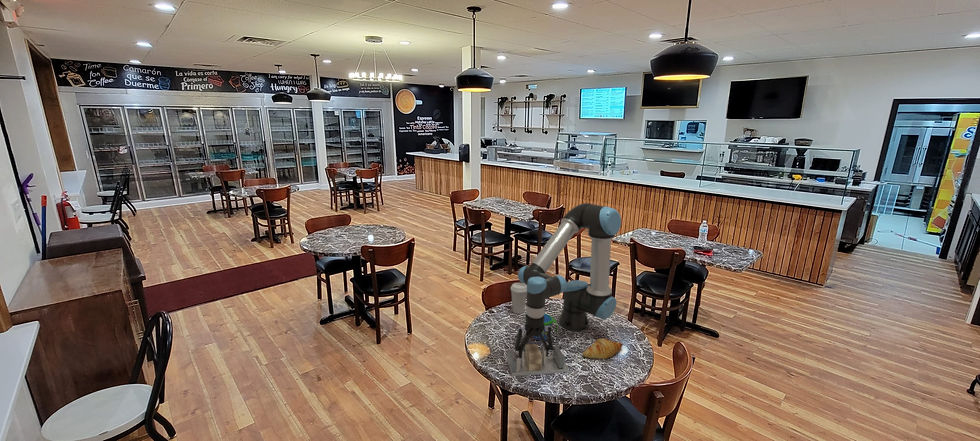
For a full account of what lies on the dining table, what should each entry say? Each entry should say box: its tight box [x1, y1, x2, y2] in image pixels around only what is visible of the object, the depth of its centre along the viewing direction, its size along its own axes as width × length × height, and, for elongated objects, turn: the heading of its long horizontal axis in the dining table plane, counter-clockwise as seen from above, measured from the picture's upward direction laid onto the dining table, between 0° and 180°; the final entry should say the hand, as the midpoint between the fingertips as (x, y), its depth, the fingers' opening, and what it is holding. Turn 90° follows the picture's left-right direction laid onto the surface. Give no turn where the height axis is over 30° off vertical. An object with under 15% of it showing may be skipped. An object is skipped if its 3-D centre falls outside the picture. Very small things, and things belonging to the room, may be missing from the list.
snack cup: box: [524, 313, 559, 341], centre depth 195 cm, size 16×10×10 cm
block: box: [524, 343, 542, 370], centre depth 170 cm, size 5×8×7 cm, turn 8°
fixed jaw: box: [507, 348, 517, 373], centre depth 169 cm, size 2×9×5 cm, turn 8°
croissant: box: [582, 338, 624, 360], centre depth 182 cm, size 21×10×8 cm, turn 113°
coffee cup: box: [510, 282, 527, 315], centre depth 221 cm, size 10×10×15 cm
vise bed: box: [506, 355, 569, 377], centre depth 172 cm, size 24×10×2 cm, turn 98°
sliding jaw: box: [549, 345, 565, 368], centre depth 173 cm, size 6×11×5 cm, turn 8°
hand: (532, 363), depth 171 cm, fingers open, 9 cm apart
